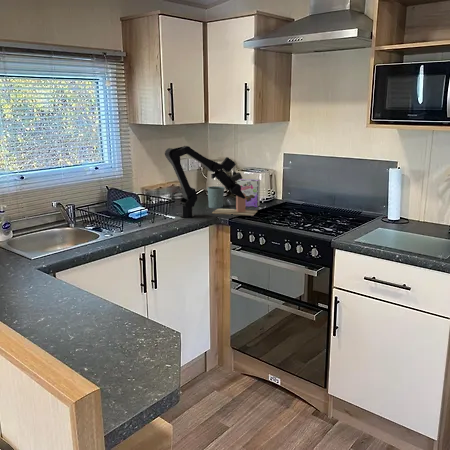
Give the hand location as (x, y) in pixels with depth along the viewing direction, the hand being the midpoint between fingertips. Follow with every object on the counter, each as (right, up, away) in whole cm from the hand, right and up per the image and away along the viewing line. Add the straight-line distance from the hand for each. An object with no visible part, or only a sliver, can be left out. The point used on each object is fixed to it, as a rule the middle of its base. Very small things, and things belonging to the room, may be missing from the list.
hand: (242, 196), depth 273 cm
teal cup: (-16, -5, +17) cm, 24 cm away
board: (-4, -9, +1) cm, 10 cm away
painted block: (-1, -8, +2) cm, 8 cm away
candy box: (+4, -5, +20) cm, 21 cm away
